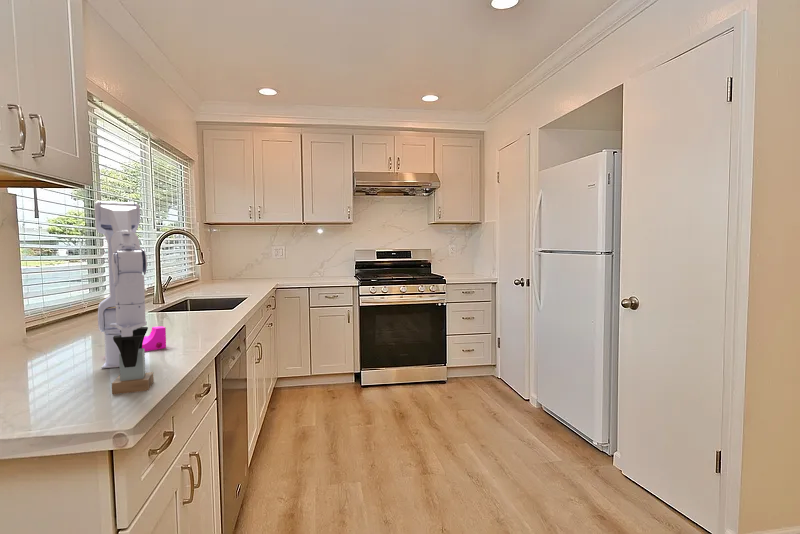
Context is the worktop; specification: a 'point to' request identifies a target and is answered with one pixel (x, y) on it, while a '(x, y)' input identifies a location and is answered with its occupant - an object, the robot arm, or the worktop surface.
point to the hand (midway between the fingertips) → (132, 362)
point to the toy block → (155, 339)
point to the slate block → (133, 368)
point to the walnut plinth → (132, 384)
